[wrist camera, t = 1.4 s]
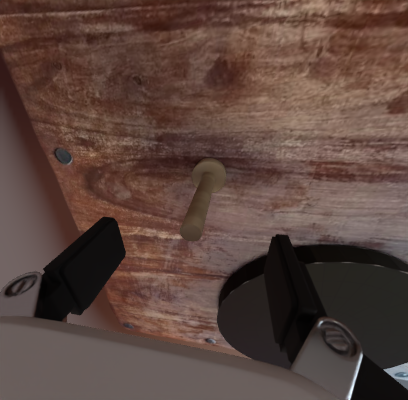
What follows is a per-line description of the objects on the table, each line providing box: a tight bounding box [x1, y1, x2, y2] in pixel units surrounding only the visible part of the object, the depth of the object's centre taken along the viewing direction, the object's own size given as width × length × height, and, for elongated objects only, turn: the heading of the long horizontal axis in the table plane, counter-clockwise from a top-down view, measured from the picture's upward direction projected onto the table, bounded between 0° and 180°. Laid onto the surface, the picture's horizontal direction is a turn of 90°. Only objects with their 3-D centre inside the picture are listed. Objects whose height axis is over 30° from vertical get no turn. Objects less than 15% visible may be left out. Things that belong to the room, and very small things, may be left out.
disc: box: [217, 245, 408, 369], centre depth 28 cm, size 30×30×3 cm
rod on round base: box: [180, 158, 226, 241], centre depth 15 cm, size 4×4×10 cm
